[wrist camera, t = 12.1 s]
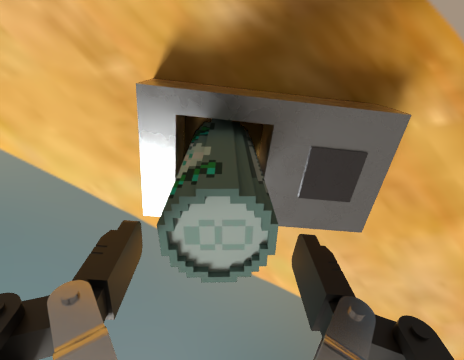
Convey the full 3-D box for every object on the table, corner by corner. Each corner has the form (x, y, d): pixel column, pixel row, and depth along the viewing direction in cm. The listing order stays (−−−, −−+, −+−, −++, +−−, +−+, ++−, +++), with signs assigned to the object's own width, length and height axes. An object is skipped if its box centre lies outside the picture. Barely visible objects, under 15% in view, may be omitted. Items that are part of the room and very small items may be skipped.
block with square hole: (153, 78, 23) (135, 83, 19) (377, 104, 25) (413, 115, 20) (156, 190, 28) (142, 216, 24) (341, 206, 30) (362, 233, 25)
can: (191, 117, 25) (151, 189, 11) (252, 118, 25) (282, 188, 12) (195, 172, 28) (165, 282, 14) (249, 172, 28) (271, 281, 14)
